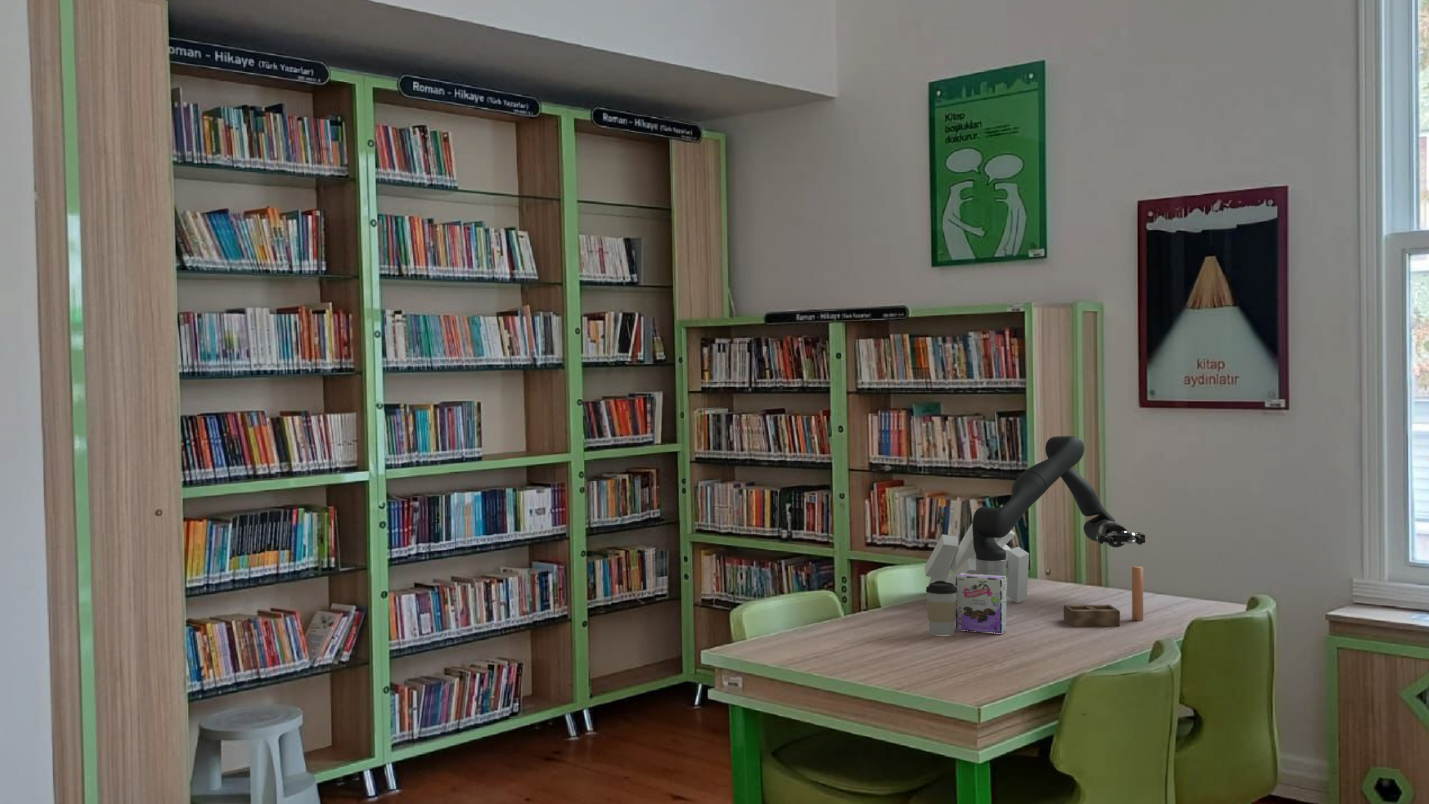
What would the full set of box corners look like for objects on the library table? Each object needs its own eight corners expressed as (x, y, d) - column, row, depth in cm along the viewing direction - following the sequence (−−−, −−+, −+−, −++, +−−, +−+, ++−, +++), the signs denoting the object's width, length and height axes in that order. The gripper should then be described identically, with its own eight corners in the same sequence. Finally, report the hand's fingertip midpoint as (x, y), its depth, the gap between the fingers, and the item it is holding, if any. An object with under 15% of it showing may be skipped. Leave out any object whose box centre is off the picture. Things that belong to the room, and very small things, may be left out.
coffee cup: (960, 637, 358) (959, 585, 358) (928, 637, 358) (928, 585, 358) (954, 630, 367) (954, 579, 367) (923, 631, 367) (923, 580, 367)
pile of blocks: (904, 618, 414) (922, 531, 397) (930, 570, 439) (947, 487, 422) (1008, 653, 403) (1031, 566, 386) (1028, 603, 427) (1050, 518, 410)
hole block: (1072, 626, 372) (1072, 611, 372) (1063, 619, 382) (1063, 605, 382) (1119, 626, 371) (1119, 610, 371) (1110, 619, 381) (1110, 604, 381)
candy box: (955, 631, 367) (954, 575, 367) (960, 627, 372) (960, 572, 372) (1001, 635, 361) (1001, 578, 360) (1007, 631, 366) (1006, 575, 365)
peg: (1133, 621, 379) (1133, 568, 378) (1130, 618, 382) (1130, 566, 381) (1144, 621, 378) (1144, 568, 378) (1141, 618, 382) (1141, 566, 381)
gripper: (1090, 522, 406) (1103, 530, 390) (1135, 521, 406) (1149, 529, 389) (1090, 545, 407) (1103, 554, 391) (1135, 544, 406) (1150, 553, 390)
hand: (1126, 541), depth 390 cm, fingers open, 8 cm apart
